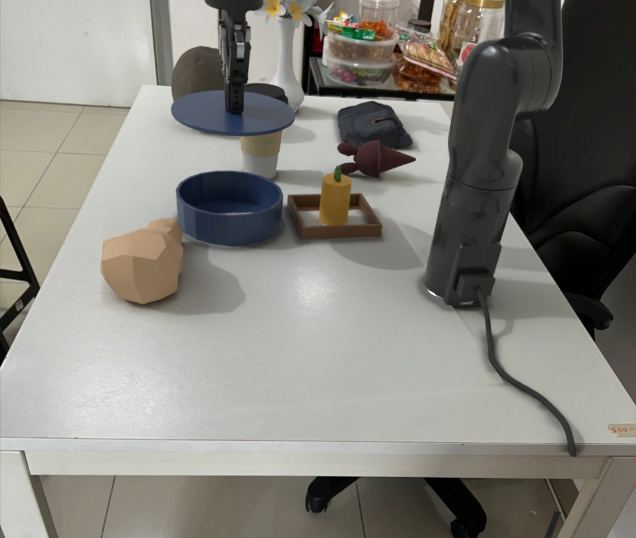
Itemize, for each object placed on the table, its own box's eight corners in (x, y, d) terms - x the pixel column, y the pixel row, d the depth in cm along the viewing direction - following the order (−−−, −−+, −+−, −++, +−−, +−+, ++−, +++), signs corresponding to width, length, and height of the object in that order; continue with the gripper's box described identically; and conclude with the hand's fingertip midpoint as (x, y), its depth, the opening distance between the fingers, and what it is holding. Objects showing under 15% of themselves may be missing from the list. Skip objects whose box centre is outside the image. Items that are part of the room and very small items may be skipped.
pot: (290, 246, 101) (291, 214, 97) (182, 251, 97) (180, 217, 93) (271, 200, 112) (272, 169, 109) (174, 202, 109) (172, 171, 105)
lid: (306, 140, 87) (309, 89, 83) (175, 141, 83) (172, 86, 79) (282, 98, 100) (284, 51, 95) (167, 97, 96) (164, 48, 91)
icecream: (415, 137, 123) (337, 137, 124) (419, 141, 117) (337, 141, 117) (412, 175, 127) (336, 175, 127) (416, 181, 120) (336, 180, 120)
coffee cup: (244, 188, 115) (244, 100, 105) (227, 167, 121) (226, 82, 112) (292, 183, 119) (297, 97, 109) (274, 163, 125) (277, 80, 115)
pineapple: (350, 226, 106) (357, 171, 100) (322, 227, 105) (327, 171, 99) (343, 213, 110) (349, 159, 104) (315, 213, 109) (320, 159, 103)
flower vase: (323, 124, 143) (334, -6, 127) (241, 115, 144) (242, -16, 127) (327, 106, 153) (338, -17, 137) (251, 97, 153) (252, -27, 137)
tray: (380, 239, 105) (382, 225, 103) (301, 242, 102) (302, 228, 100) (360, 206, 114) (361, 192, 112) (286, 208, 111) (287, 194, 109)
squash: (97, 316, 83) (76, 250, 78) (135, 258, 100) (119, 200, 95) (179, 309, 83) (163, 242, 77) (203, 252, 99) (191, 193, 94)
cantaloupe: (222, 142, 130) (220, 62, 121) (161, 128, 134) (154, 49, 124) (252, 122, 141) (253, 46, 131) (194, 110, 144) (191, 35, 134)
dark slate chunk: (399, 116, 152) (402, 95, 149) (414, 151, 135) (418, 128, 132) (334, 112, 150) (336, 90, 147) (342, 147, 134) (344, 123, 131)
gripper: (197, -50, 83) (202, 92, 95) (209, -30, 73) (212, 126, 85) (255, -46, 85) (252, 93, 96) (273, -26, 75) (268, 126, 87)
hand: (234, 107), depth 91 cm, fingers closed on lid, 2 cm apart
